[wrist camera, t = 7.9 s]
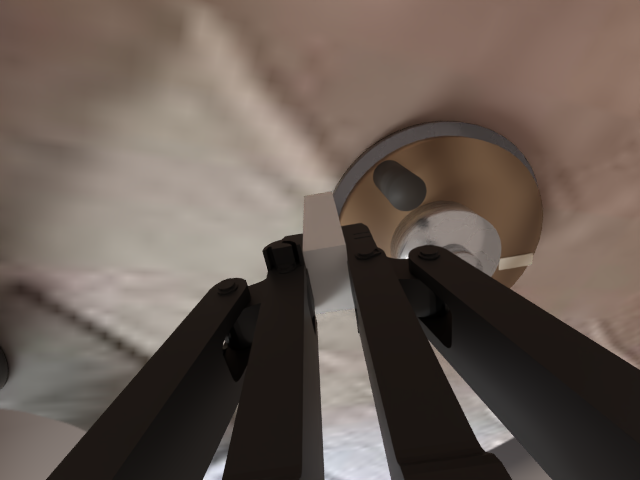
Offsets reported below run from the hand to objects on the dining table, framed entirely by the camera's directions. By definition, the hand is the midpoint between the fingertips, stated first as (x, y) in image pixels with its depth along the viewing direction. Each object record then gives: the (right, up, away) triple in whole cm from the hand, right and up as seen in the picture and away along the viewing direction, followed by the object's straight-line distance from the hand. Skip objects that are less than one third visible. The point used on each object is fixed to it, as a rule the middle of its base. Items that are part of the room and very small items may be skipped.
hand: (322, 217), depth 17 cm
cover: (+10, -2, +10) cm, 14 cm away
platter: (+10, -1, +12) cm, 15 cm away
